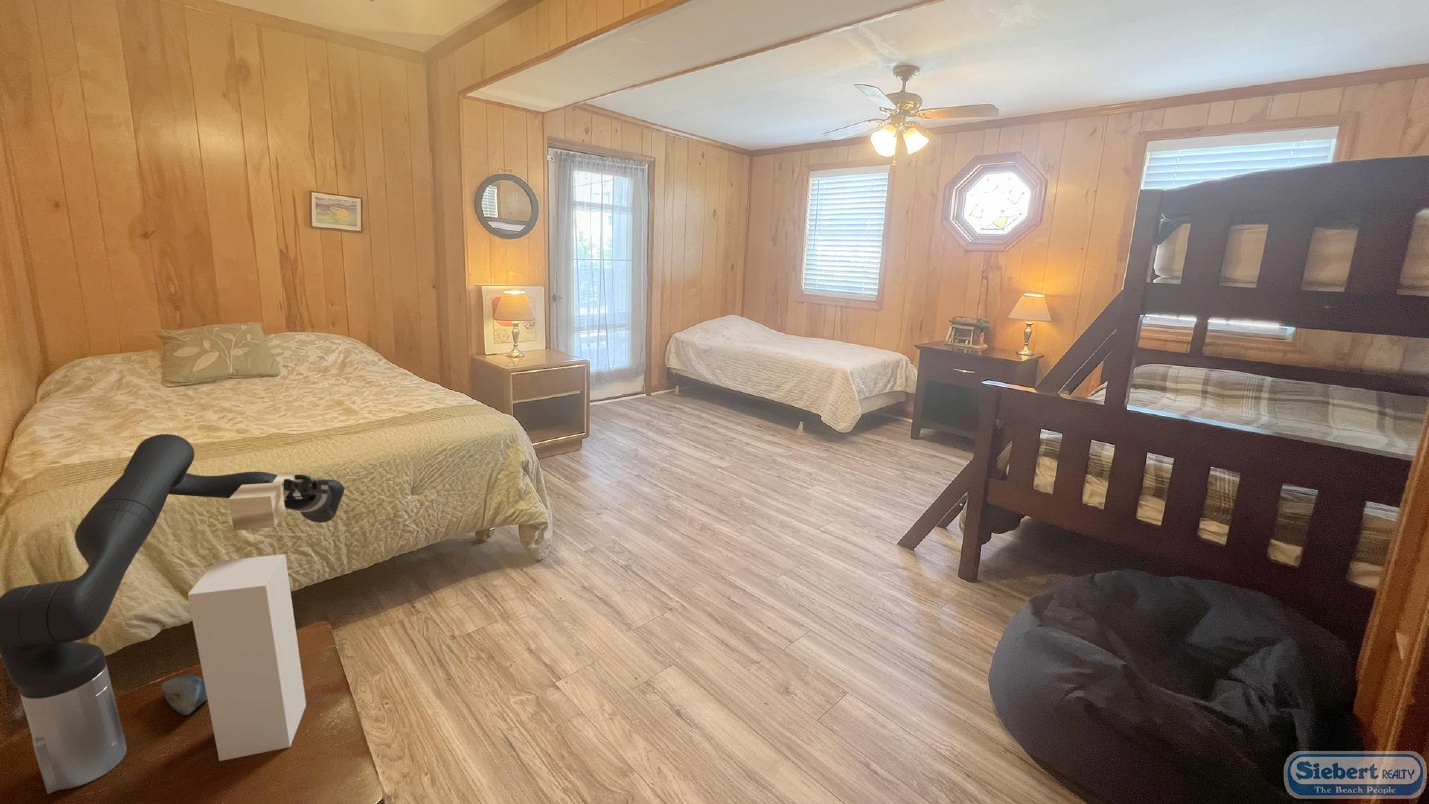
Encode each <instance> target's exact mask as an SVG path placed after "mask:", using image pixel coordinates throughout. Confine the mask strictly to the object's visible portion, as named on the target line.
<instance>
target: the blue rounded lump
mask: <svg viewBox="0 0 1429 804" xmlns="http://www.w3.org/2000/svg"><path fill="white" fill-rule="evenodd" d="M160 686H161V687H160V688H161V691H162V693H163V696H164V698H165V700H166V701H167V703H168V704H169V705H170V706H171V707H172V709H174V710H175V711H176V712H177V713H179V714H181V715H184V716H188V715H190V714H192V713H193V712H194V711H195V710H196V709H198V708H199V707H200V706H201V705H202V704H203V703H204V702H205V701H208V699H207V694H206V688H205V683H204V679H202V678H201V677H199V676H196V675H193V674H185V675H180V676H177V677H174V678H171V679H167V680H165V681H163V682H161V685H160Z"/></svg>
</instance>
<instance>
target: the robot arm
mask: <svg viewBox="0 0 1429 804" xmlns="http://www.w3.org/2000/svg"><path fill="white" fill-rule="evenodd" d="M194 459H195V449H194V447H193V445H192V444H191V443H190V442H189V441H188V440H187V439H186V438H184V437H182V436H180V435H176V434H173V433H172V434H170V433H161V434H156V435H152V436H149V437H147V438H145V439H144V440H142V442H140V443H139V445H137V447H136V449H135V451H134V452H133V454H132V456H131V458H130V459H129V460H128V463H127V465H126V467H125V468H124V470H123V474H122V475H121V476H120V477H119V478H118V479H116V481H114V483H113V484H112V485H111V486H109V488H108V489H107V490H106V491H104V492H105V493H103V494H102V496H101V497H100V498H99V499H98V500H97V501H96V502H95V504H94V505H93V506H92V507H91V508H90V510H88V512H87V513H86V515H85V516H84V517H83V519H81V522H80V523H79V524H78V526H77V527H76V530H75V533H74V541H75V545H76V548H77V549H78V552H79V553H80V554H81V556H82V558H83V559H84V560H85V562H86V563H87V566H88V567H87V568H86V569H85V571H84V572H83V573H82V574H81V575H80V576H79V577H77V578H74V579H68V580H61V581H52V582H45V583H37V584H28V585H21V586H17V587H14V588H12V589H9V590H7V591H5V592H4V593H3V594H2V595H1V596H0V658H1V659H2V662H3V665H4V667H5V669H6V674H7V675H8V678H9V680H10V681H11V683H12V684H13V685H14V686H16V688H18V693H19V695H20V698H21V702H22V705H23V708H24V709H23V710H24V713H25V716H26V719H27V723H28V727H29V730H30V733H31V738H32V745H33V746H32V747H33V750H34V753H35V754H34V755H35V758H36V761H37V764H38V767H39V771H40V774H41V777H42V781H43V784H44V788H45V790H46V794H48V795H49V794H52V793H54V792H57V791H60V790H67V789H69V790H70V789H73V788H76V787H80V786H82V785H86V784H88V783H90V782H92V781H95V780H97V779H98V778H100V777H102V776H104V775H106V774H108V772H110V771H112V770H113V769H114V768H115V767H116V766H117V765H118V764H120V763H121V762H122V760H124V758H125V756H126V753H127V750H128V748H127V743H126V738H125V734H124V730H123V727H122V722H121V719H120V714H119V710H118V706H117V702H116V698H115V694H114V690H113V685H112V682H111V677H110V673H109V669H108V665H107V661H106V660H107V659H106V656H105V653H104V651H103V649H102V648H101V646H98V645H96V644H93V643H89V642H87V643H86V642H80V640H83V639H85V638H88V637H90V636H91V635H92V634H93V633H95V632H96V631H97V630H98V628H99V627H100V626H101V625H102V623H103V622H104V620H105V619H106V616H107V614H108V613H109V610H110V608H111V606H112V603H113V601H114V599H115V597H116V595H117V592H118V590H119V588H120V585H121V583H122V580H123V579H124V576H125V575H126V572H127V571H128V568H129V567H130V565H131V563H132V562H133V560H134V558H135V557H136V555H137V553H138V552H139V551H140V549H141V547H142V546H143V544H144V543H145V541H146V540H147V538H148V536H149V535H150V533H151V532H152V530H153V528H154V527H155V525H156V522H157V521H158V519H159V517H160V515H161V513H162V510H163V508H164V505H165V503H166V500H167V498H168V496H169V495H173V496H187V497H188V496H189V497H198V498H217V499H219V498H220V499H229V498H230V497H231V496H232V495H233V494H234V493H235V492H236V491H237V489H238V488H239V487H240V486H241V485H248V484H264V483H272V482H273V481H274V480H275V478H276V477H277V476H278V475H279V474H275V473H271V472H265V471H245V472H238V473H237V472H236V473H228V474H221V475H199V474H193V473H188V470H189V469H190V467H191V466H192V463H193V461H194ZM294 475H295V480H294V481H293V480H290V479H284V490H285V491H288V492H289V493H288V495H287V496H286V498H285V499H284V505H285V509H288V510H293V511H295V512H296V511H297V512H300V515H301V516H302V517H304V519H306V520H308V521H310V522H314V523H319V524H321V523H327V522H329V521H332V519H333V518H335V515H336V514H337V511H338V509H339V506H340V503H341V501H342V498H343V495H344V493H345V486H344V485H343V484H342V483H341V482H340V481H339V480H335V479H329V478H328V479H327V478H326V479H325V478H323V479H322V478H321V479H315V478H313V477H311V476H309V475H306V474H294Z"/></svg>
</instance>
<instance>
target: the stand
mask: <svg viewBox="0 0 1429 804" xmlns="http://www.w3.org/2000/svg"><path fill="white" fill-rule="evenodd" d="M211 564H212V565H211V566H210V567H209V568H208V569H207V570H206V571H205V572H204V574H203V575H202V576H201V578H200V579H199V580H198V581H197V582H196V584H195V585H194V586H193V587H192V588H191V590H190V591H189V592H188V594H187V599H188V603H189V609H190V614H191V619H192V624H193V629H194V635H195V640H196V645H197V651H198V657H199V661H200V667H201V672H202V677H203V680H204V683H205V688H206V694H207V704H208V708H209V713H210V714H209V715H210V719H211V724H212V730H213V734H214V740H215V745H216V750H217V755H218V761H219V762H221V761H226V760H233V759H236V758H237V759H238V758H242V757H247V756H252V755H257V754H262V753H266V752H272V751H278V750H283V749H287V748H291V746H292V742H293V741H294V738H295V735H296V733H297V730H298V728H299V725H300V723H301V720H302V717H303V715H304V711H305V709H306V707H307V701H306V695H305V687H304V680H303V679H304V678H303V672H302V666H301V665H302V664H301V659H300V652H299V651H300V650H299V644H298V643H299V642H298V636H297V629H296V621H295V615H294V607H293V602H292V601H293V600H292V592H291V585H290V578H289V572H288V564H287V556H286V554H285V553H284V554H273V555H272V554H271V555H264V556H254V557H245V558H244V557H243V558H242V557H241V558H234V559H225V560H224V559H223V560H222V559H221V560H215V561H214V562H213V563H211Z"/></svg>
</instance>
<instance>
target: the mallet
mask: <svg viewBox="0 0 1429 804" xmlns="http://www.w3.org/2000/svg"><path fill="white" fill-rule="evenodd" d="M277 475H278V476H277V477H276V478H275V480H274V481H273V482H272V483H264V484H248V485H241V486H240V487H239V488H238V489H237V491H236V492H235V493H234V494H233V495H232V496H231V497H230V498H228V503H229V509H230V517H231V523H232V529H233V531H246V530H257V529H268V528H269V529H270V528H275V527H276V526H277V525H278V524H279V522H280V520H282V518H283V516H284V515H285V513H286V508H285V505H284V499H285V498H286V496H287V495H288V493H289V492H288V491H285V490H284V479H290V480H293V481H294V480H295V475H296V474H295V472H281V473H279V474H277Z"/></svg>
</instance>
